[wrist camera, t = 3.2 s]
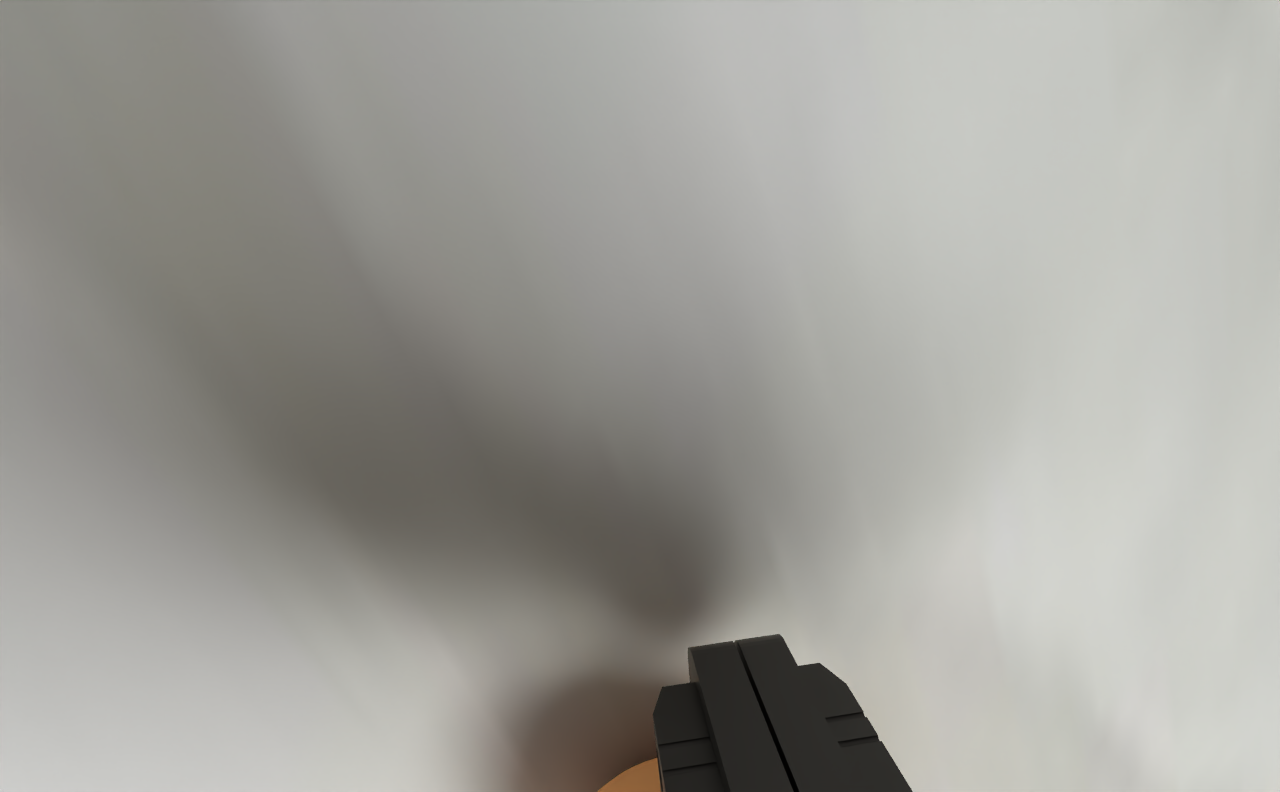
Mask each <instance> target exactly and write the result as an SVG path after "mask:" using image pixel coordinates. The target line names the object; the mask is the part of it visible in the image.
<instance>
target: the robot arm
mask: <svg viewBox="0 0 1280 792" xmlns="http://www.w3.org/2000/svg"><path fill="white" fill-rule="evenodd" d="M688 663H689V676H690V683H686V684H679V685H673V686H666V687H662V689H661V692H660V695H659V698H658V701H657V704H656V707H655V710H654V713H653V721H654V730H655V740H656V750H657V760H658V769H659V779H660V789H661V792H912V790H911V788H910V787H909V785H908V783H907V782H906V780H905V779H904V777H903V775H902V774H901V772H900V770H899V769H898V767H897V766H896V764H895V762H894V761H893V759H892V757H891V756H890V754H889V752H888V751H887V749H886V748H885V746H884V744H883V743H882V741H879V739H878V735H877V733H876V731H875V730H874V728H873V726H872V725H871V723H870V722H869V720H868V718H867V717H865V716H864V713H863V710H862V709H861V707H860V705H859V704H858V702H857V700H856V699H855V697H854V696H853V694H852V692H851V691H850V689H849V687H848V686H847V684H846V683H844V682H843V681H842V680H841V679H839V678H838V677H837V676H836V675H834V674H833V673H832V672H830V671H829V670H828V669H827V668H825V667H824V666H823V665H822V664H820V663H815V664H809V665H802V666H798V665H797V664H796V662H795V660H794V658H793V656H792V654H791V652H790V650H789V648H788V646H787V645H786V643H785V641H784V639H783V637H782V636H781V635H780V634H776V635H769V636H762V637H756V638H749V639H742V640H735V642H733V641H730V642H723V643H716V644H710V645H703V646H696V647H689V648H688Z"/></svg>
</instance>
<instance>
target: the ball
mask: <svg viewBox="0 0 1280 792" xmlns="http://www.w3.org/2000/svg"><path fill="white" fill-rule="evenodd" d="M597 792H661V789H660V779H659V769H658V760H657V758H655V759H651V760H648V761H645V762H643V763H640V764H638V765H635V766H633V767H631V768H629V769H628V770H626V771H624V772H622V773H621V774H619V775H618V776H616V777H615V778H614V779H612V780H611V781H609V782H608V783H607V784H605V785H604V786H603V787H602V788H600V789H599V790H598V791H597Z"/></svg>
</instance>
